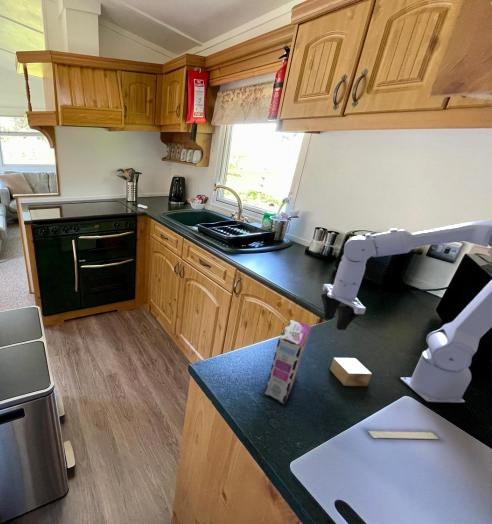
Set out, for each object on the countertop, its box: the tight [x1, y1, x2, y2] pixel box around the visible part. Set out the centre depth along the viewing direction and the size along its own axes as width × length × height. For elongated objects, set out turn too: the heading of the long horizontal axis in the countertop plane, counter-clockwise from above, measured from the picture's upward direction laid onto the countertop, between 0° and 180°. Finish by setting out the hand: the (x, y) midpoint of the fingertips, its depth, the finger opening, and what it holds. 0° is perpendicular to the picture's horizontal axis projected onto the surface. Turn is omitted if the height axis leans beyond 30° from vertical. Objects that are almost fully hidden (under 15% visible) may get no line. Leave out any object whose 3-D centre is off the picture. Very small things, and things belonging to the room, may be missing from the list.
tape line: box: [367, 430, 439, 440], centre depth 61 cm, size 14×2×1 cm, turn 91°
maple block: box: [329, 357, 373, 387], centre depth 76 cm, size 6×6×4 cm
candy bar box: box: [264, 319, 312, 405], centre depth 70 cm, size 11×5×16 cm, turn 141°
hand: (334, 323), depth 83 cm, fingers open, 5 cm apart
